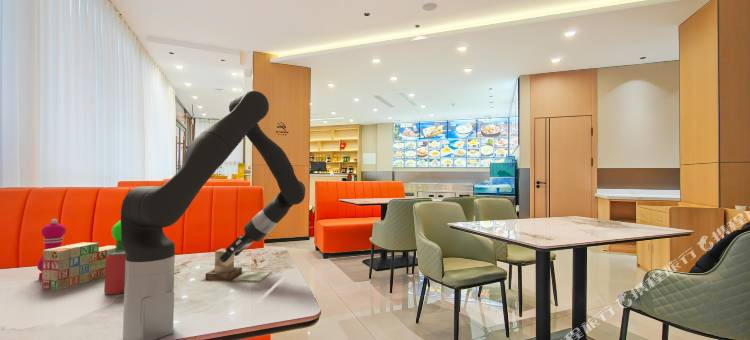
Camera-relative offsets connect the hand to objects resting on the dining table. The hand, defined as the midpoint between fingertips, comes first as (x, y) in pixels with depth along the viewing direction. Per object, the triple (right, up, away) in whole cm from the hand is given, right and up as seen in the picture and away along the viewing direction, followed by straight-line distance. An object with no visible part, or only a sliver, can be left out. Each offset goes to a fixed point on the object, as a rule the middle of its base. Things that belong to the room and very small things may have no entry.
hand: (228, 257), depth 112 cm
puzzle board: (+4, -8, 0) cm, 8 cm away
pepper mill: (-61, -7, -1) cm, 61 cm away
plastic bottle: (-33, -7, -2) cm, 34 cm away
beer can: (-27, -7, -14) cm, 31 cm away
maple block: (-1, -7, 0) cm, 7 cm away
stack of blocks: (-48, -7, -2) cm, 48 cm away
